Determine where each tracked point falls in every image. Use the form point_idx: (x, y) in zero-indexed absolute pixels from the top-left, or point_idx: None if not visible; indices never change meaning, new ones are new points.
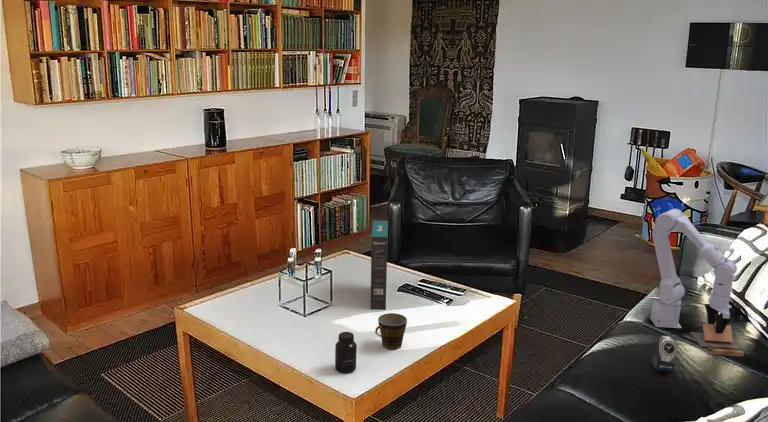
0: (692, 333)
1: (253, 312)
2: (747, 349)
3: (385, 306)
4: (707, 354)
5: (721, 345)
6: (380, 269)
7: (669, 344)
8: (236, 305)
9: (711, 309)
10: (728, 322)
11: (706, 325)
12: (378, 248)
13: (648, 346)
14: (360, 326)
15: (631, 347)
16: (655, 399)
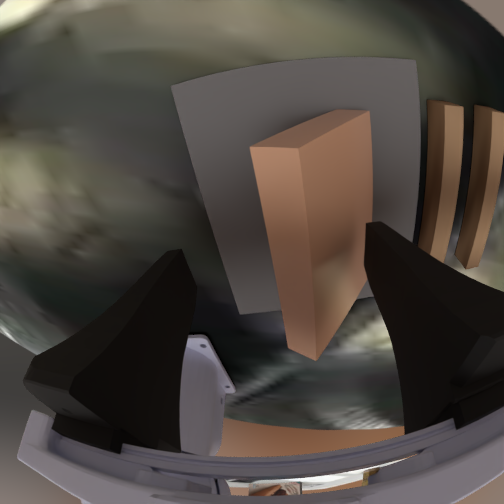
0: (256, 308)
1: (322, 486)
2: (390, 22)
3: (299, 484)
4: (462, 269)
5: (442, 215)
6: None
7: None
8: (313, 488)
9: (161, 409)
10: (487, 292)
11: (322, 341)
12: None
13: (388, 392)
14: (337, 478)
15: (390, 407)
16: None
